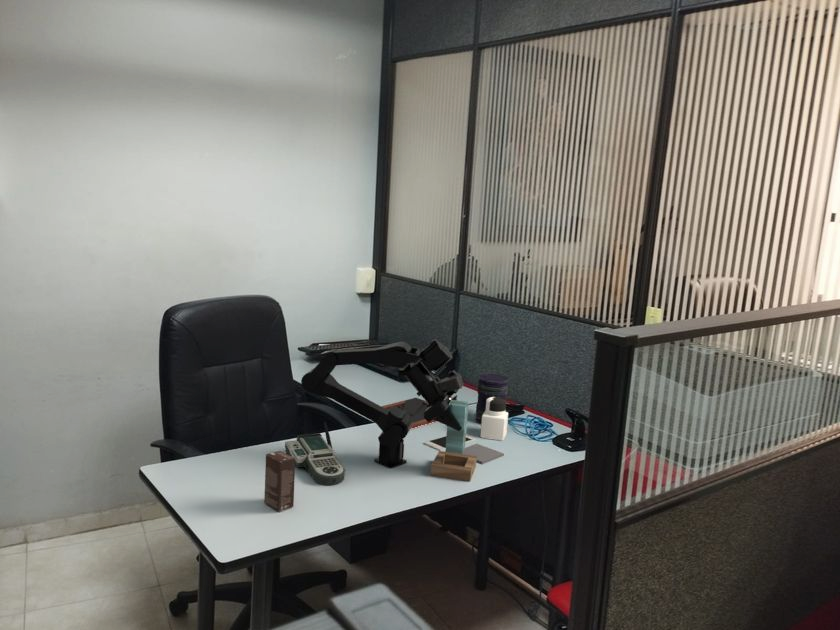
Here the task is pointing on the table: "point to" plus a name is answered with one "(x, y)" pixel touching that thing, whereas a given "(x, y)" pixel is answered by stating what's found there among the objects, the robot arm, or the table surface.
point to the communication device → (317, 457)
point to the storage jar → (489, 391)
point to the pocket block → (453, 466)
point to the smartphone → (443, 442)
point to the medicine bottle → (494, 419)
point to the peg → (454, 437)
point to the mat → (482, 453)
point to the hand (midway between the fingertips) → (462, 427)
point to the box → (279, 481)
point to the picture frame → (413, 410)
